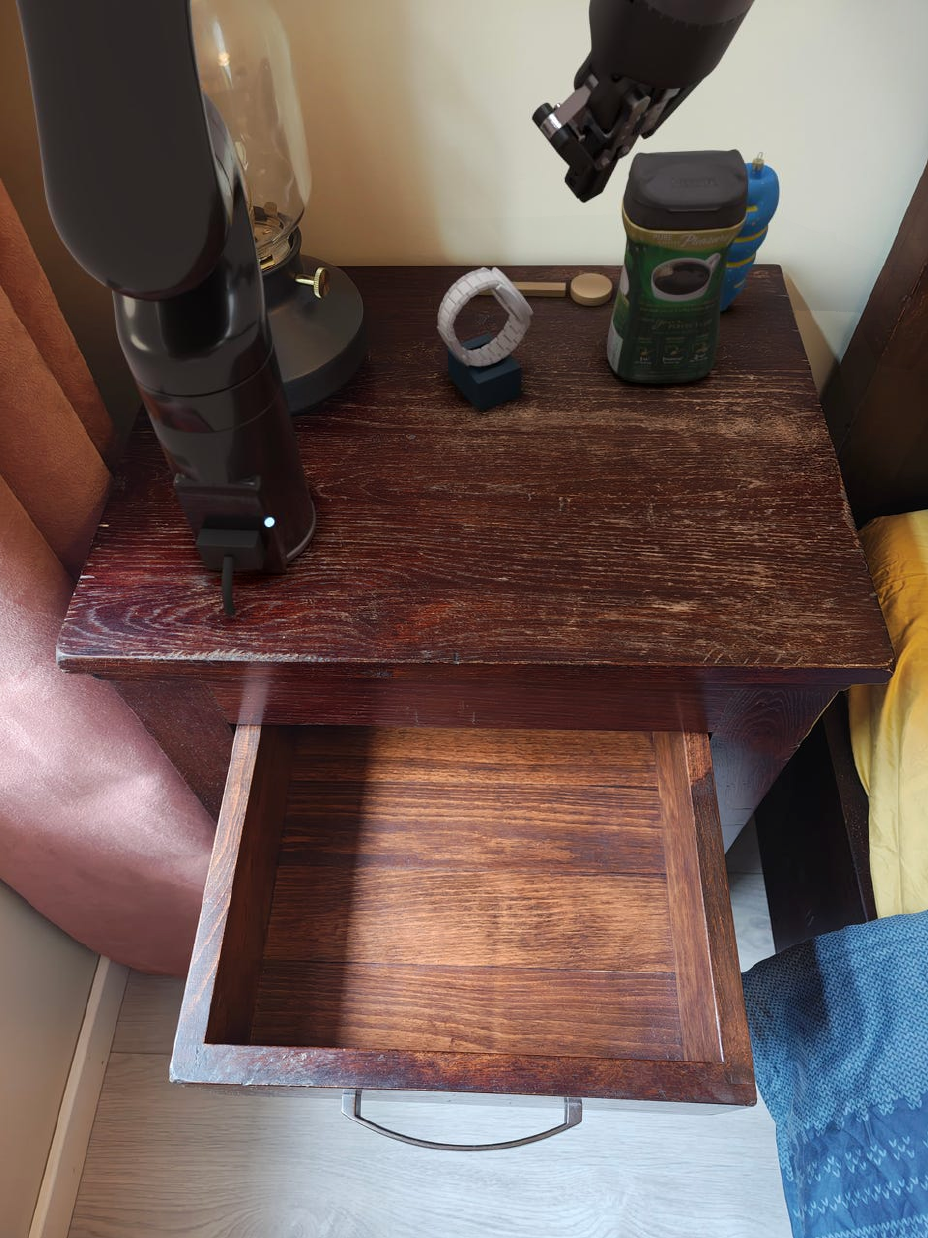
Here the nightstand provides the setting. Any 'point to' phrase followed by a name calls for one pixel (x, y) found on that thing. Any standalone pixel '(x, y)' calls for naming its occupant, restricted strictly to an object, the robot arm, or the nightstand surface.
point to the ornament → (751, 227)
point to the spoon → (583, 289)
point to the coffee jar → (675, 262)
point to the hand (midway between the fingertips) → (582, 187)
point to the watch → (485, 341)
